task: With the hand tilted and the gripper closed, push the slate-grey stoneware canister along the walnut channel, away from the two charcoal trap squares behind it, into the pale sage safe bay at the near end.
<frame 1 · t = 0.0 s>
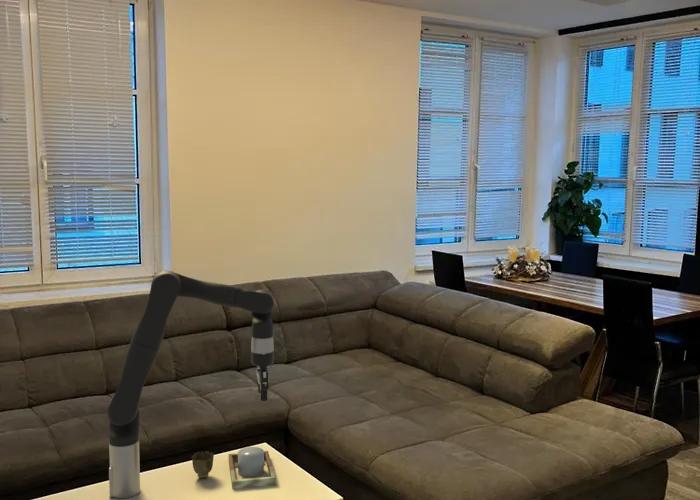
hand: (262, 396, 228), 29 cm above the table, tool pointing down, fingers open, 8 cm apart
trap channel: (251, 472, 237), on the table
slate stoneware canister: (251, 462, 236), in the trap channel
cup: (203, 477, 233), on the table
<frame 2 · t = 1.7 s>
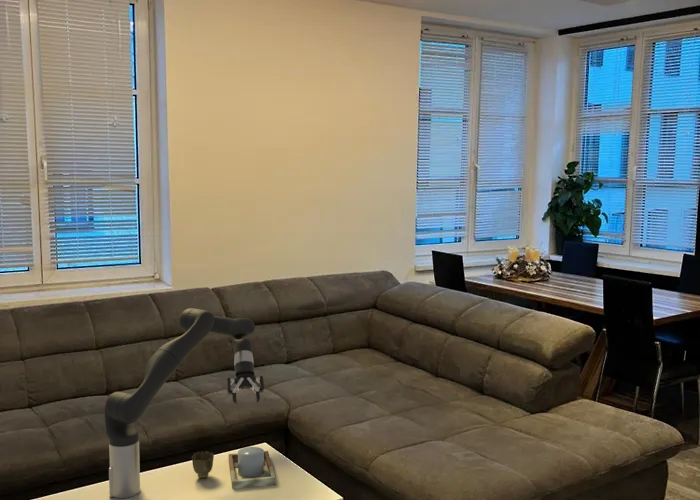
hand: (246, 402, 256), 18 cm above the table, tool tilted 45°, fingers open, 7 cm apart
nothing on the table moved.
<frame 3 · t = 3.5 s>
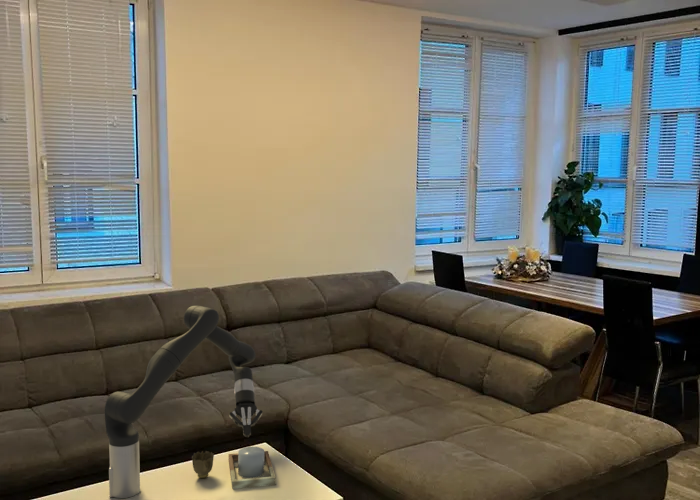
hand: (247, 436, 248), 8 cm above the table, tool tilted 45°, fingers closed
nothing on the table moved.
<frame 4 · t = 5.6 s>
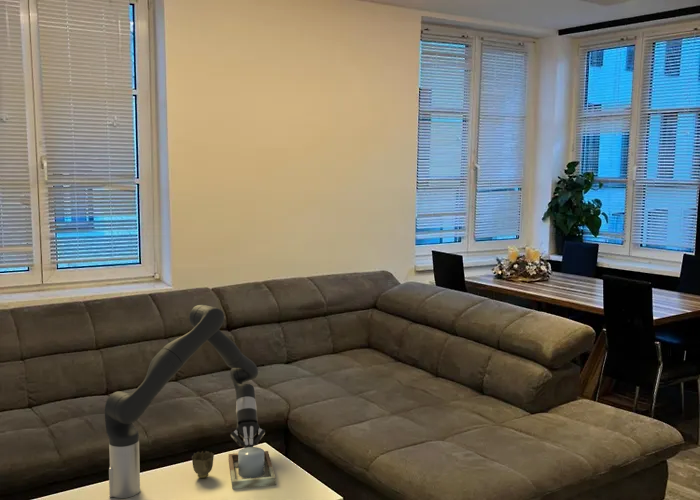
hand: (249, 456, 241), 4 cm above the table, tool tilted 45°, fingers closed
slate stoneware canister: (251, 462, 236), in the trap channel, touching gripper
everything else where it was.
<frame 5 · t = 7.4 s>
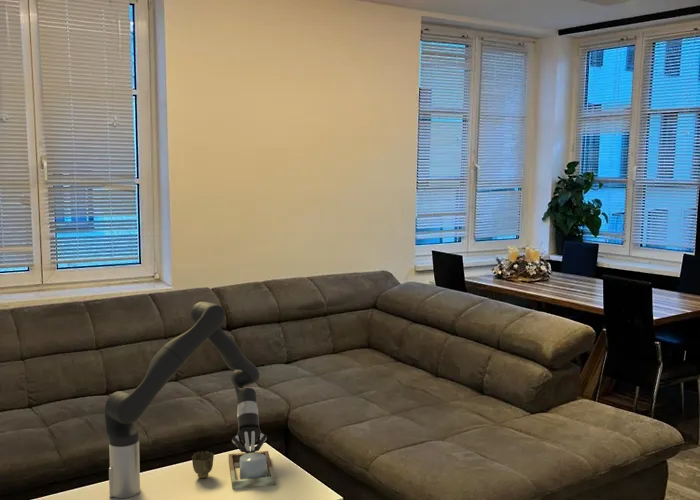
hand: (251, 462, 236), 4 cm above the table, tool tilted 45°, fingers closed
slate stoneware canister: (253, 468, 231), in the trap channel, touching gripper
everything else where it was.
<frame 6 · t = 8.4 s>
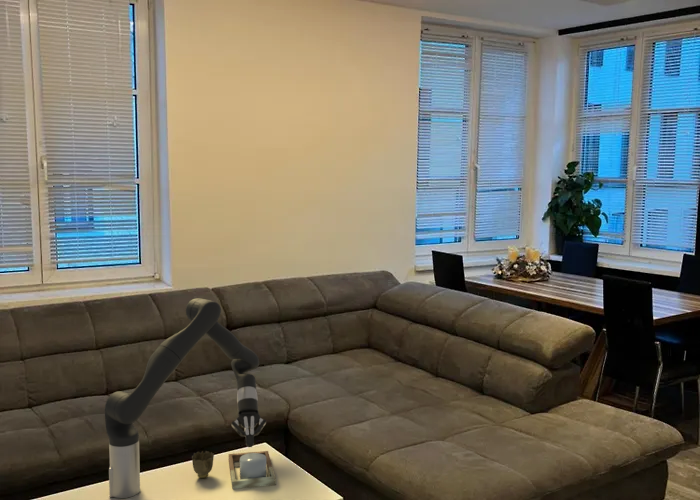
hand: (250, 446, 239), 8 cm above the table, tool tilted 45°, fingers closed
slate stoneware canister: (253, 468, 231), in the trap channel
everything else where it was.
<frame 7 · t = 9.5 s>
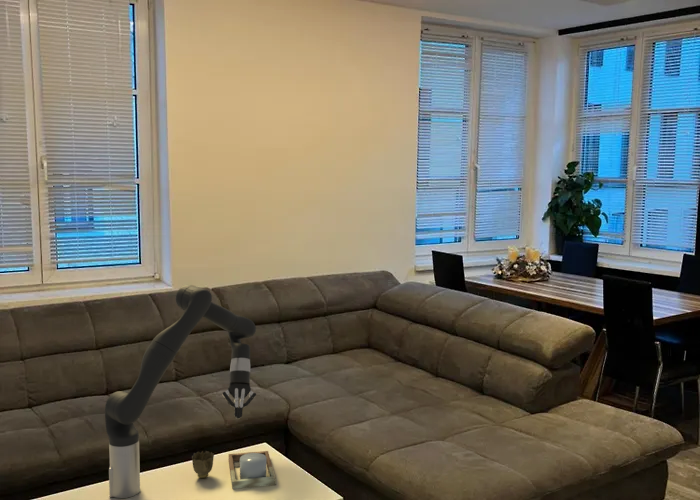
hand: (238, 418, 247), 15 cm above the table, tool tilted 30°, fingers closed
nothing on the table moved.
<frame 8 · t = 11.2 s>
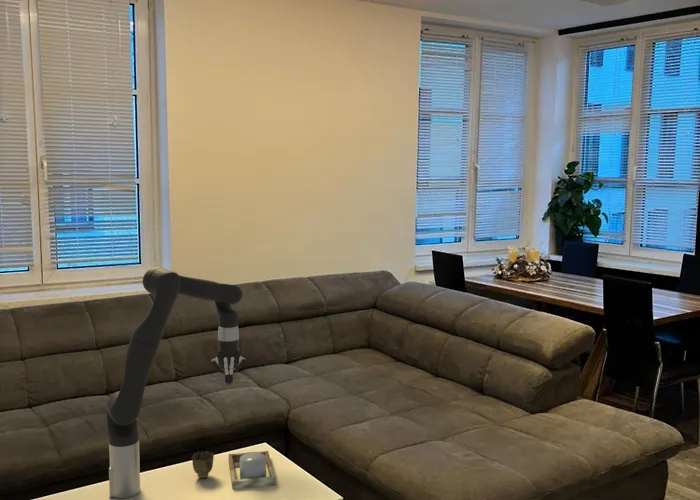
hand: (228, 383, 249), 27 cm above the table, tool pointing down, fingers closed
nothing on the table moved.
at the end: slate stoneware canister 0.5 cm from the target spot, resting in trap channel; slate stoneware canister tilted 1°; slate stoneware canister moved 5.4 cm from its start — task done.
